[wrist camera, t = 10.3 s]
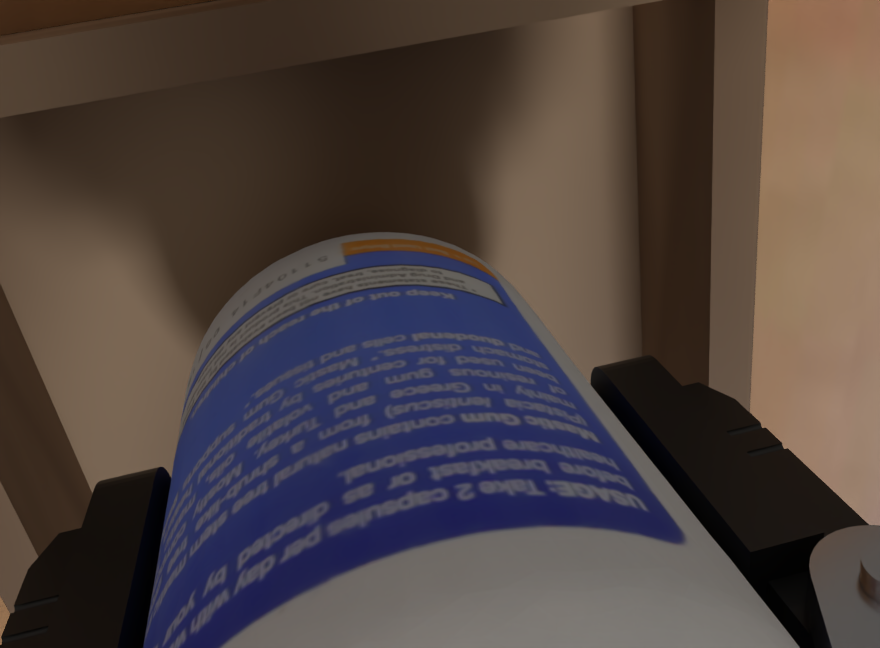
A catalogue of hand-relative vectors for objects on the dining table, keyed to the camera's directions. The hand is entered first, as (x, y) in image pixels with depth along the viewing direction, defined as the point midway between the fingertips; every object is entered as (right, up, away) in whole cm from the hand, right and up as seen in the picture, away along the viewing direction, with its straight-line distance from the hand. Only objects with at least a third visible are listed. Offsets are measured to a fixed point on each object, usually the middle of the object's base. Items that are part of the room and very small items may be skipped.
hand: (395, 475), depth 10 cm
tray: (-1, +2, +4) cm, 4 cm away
